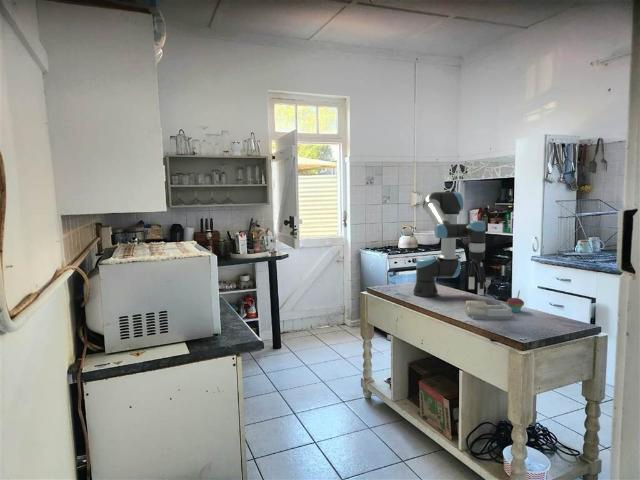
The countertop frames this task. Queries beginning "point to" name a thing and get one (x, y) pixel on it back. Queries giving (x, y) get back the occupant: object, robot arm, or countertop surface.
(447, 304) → the countertop surface
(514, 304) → the cupcake
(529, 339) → the countertop surface
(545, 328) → the countertop surface
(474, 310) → the panel block
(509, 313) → the rail board
